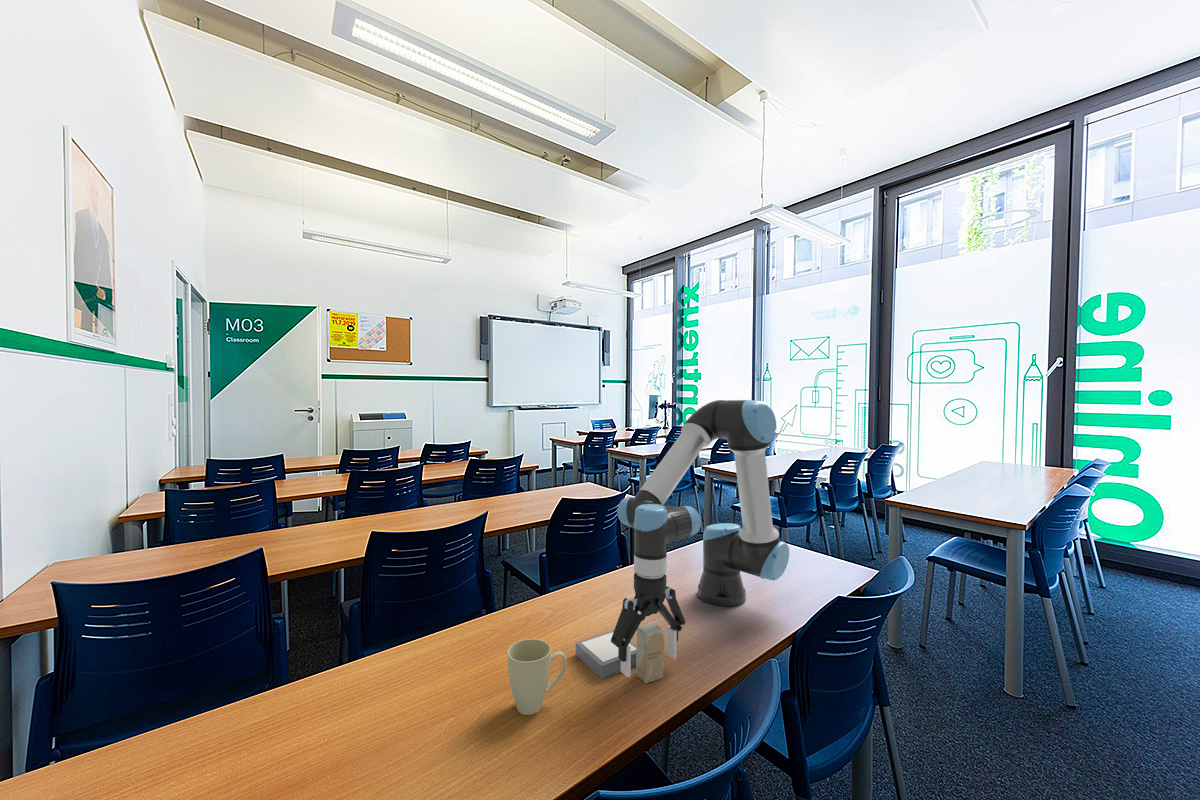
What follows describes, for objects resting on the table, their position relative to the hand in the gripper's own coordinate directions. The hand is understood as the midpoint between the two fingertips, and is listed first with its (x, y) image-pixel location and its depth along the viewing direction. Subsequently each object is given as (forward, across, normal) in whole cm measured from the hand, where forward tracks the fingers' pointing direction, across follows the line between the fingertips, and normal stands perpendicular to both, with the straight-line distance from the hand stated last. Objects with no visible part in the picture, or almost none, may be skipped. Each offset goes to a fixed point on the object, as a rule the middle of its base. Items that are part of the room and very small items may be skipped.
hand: (649, 664), depth 108 cm
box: (+3, 0, 0) cm, 3 cm away
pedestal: (+3, +4, -11) cm, 12 cm away
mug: (+3, +27, -5) cm, 27 cm away
